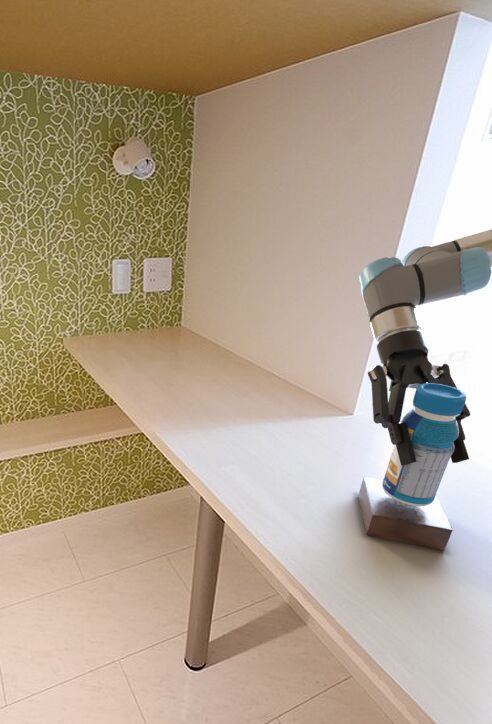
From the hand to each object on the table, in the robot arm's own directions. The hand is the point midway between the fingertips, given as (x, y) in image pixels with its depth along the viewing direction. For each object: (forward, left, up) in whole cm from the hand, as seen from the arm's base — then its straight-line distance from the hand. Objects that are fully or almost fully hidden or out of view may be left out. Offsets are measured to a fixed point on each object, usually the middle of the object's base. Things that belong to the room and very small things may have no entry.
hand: (434, 462), depth 70 cm
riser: (+1, -3, -15) cm, 15 cm away
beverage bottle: (+1, -3, -9) cm, 9 cm away
